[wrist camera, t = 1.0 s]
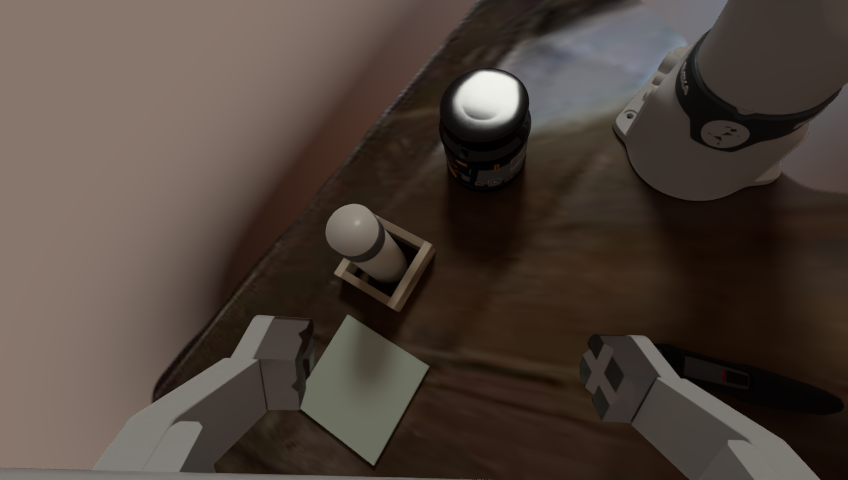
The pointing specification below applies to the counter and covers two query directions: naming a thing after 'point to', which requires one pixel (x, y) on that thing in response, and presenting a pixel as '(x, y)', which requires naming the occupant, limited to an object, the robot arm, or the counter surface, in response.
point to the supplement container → (485, 128)
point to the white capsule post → (366, 243)
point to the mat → (362, 388)
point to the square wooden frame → (410, 277)
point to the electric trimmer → (749, 382)
